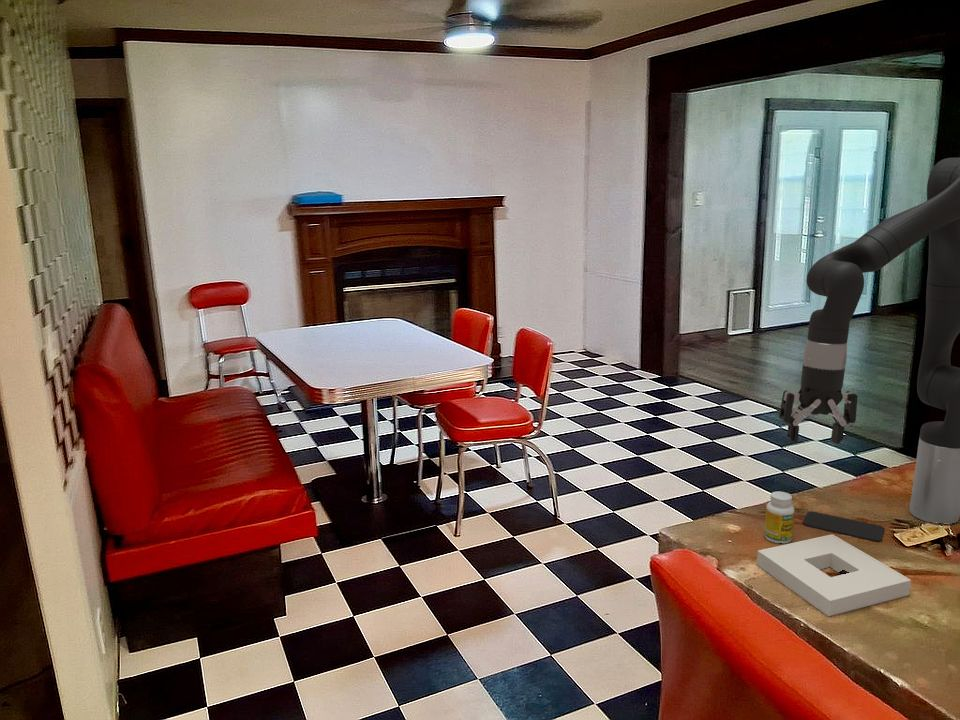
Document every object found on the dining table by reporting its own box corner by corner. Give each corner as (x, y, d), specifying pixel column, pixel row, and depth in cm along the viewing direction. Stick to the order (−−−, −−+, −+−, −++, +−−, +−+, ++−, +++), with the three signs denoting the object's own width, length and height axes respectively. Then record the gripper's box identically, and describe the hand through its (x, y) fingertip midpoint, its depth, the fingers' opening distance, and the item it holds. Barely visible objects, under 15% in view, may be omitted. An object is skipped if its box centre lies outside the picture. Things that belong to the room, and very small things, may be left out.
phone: (808, 510, 160) (885, 526, 152) (807, 513, 160) (884, 529, 152) (801, 523, 154) (881, 541, 146) (801, 527, 154) (881, 545, 146)
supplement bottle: (774, 529, 152) (778, 487, 150) (797, 539, 148) (801, 496, 146) (758, 536, 150) (761, 494, 147) (781, 547, 145) (785, 503, 143)
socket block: (830, 547, 144) (832, 534, 144) (909, 595, 128) (911, 580, 127) (756, 564, 139) (757, 550, 138) (828, 616, 122) (830, 600, 122)
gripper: (850, 359, 144) (839, 436, 148) (779, 358, 144) (770, 436, 148) (870, 368, 137) (859, 449, 141) (796, 367, 137) (786, 448, 140)
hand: (814, 442), depth 144 cm, fingers open, 8 cm apart
